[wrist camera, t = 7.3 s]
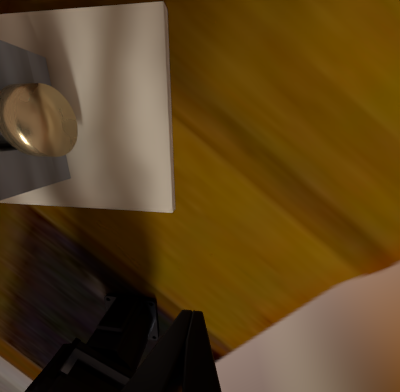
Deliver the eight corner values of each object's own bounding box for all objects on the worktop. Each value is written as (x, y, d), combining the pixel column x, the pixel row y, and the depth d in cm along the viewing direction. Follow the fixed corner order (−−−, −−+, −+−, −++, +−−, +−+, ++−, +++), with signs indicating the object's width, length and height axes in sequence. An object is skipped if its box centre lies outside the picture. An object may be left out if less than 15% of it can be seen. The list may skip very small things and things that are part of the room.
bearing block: (167, 9, 15) (113, -98, 8) (175, 208, 20) (146, 251, 13) (-75, 27, 18) (-274, -40, 11) (-13, 198, 23) (-120, 228, 16)
